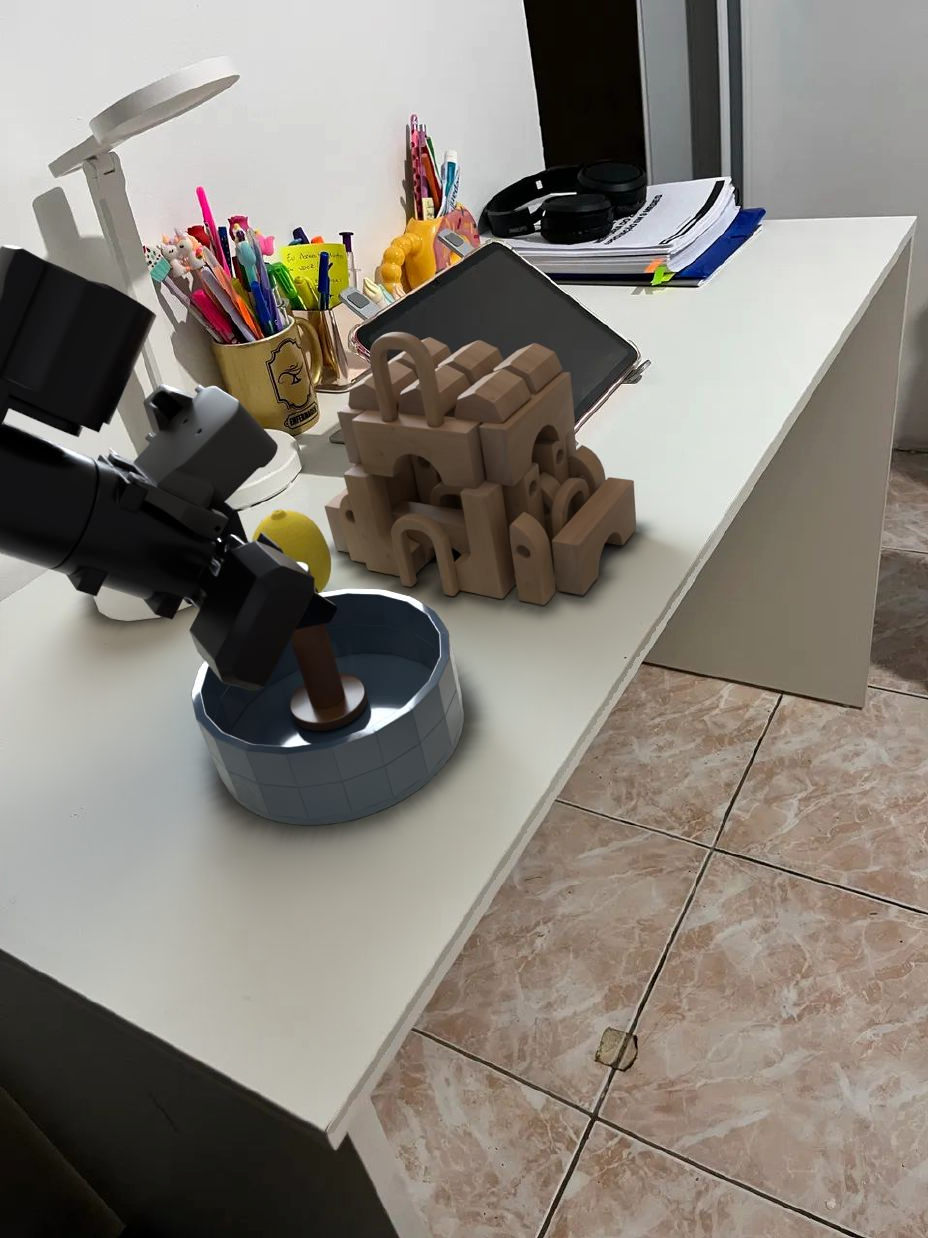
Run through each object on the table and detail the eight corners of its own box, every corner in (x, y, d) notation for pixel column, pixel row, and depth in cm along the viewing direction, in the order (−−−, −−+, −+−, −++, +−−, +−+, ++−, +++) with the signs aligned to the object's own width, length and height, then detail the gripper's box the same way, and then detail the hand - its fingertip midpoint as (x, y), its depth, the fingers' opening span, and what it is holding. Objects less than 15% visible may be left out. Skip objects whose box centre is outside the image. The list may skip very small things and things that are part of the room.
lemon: (275, 588, 74) (246, 497, 69) (345, 579, 73) (320, 487, 69) (263, 629, 69) (231, 535, 65) (337, 620, 69) (310, 525, 64)
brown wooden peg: (334, 740, 57) (292, 603, 51) (276, 718, 59) (230, 585, 54) (382, 692, 60) (348, 558, 54) (326, 673, 62) (287, 543, 57)
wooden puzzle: (647, 516, 74) (635, 273, 63) (564, 621, 64) (534, 356, 54) (415, 482, 85) (372, 270, 74) (315, 567, 75) (249, 338, 65)
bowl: (360, 862, 50) (336, 789, 47) (169, 774, 58) (138, 706, 55) (510, 690, 59) (498, 619, 56) (328, 635, 67) (309, 570, 64)
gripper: (214, 409, 38) (478, 540, 48) (88, 323, 51) (316, 440, 62) (94, 652, 39) (376, 728, 50) (2, 506, 53) (239, 590, 63)
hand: (323, 605), depth 56 cm, fingers closed on brown wooden peg, 2 cm apart
